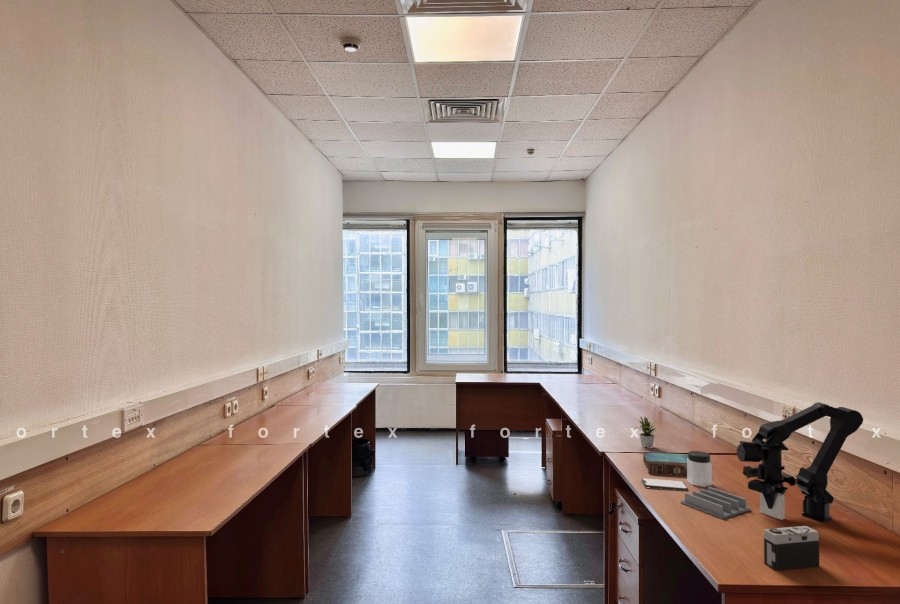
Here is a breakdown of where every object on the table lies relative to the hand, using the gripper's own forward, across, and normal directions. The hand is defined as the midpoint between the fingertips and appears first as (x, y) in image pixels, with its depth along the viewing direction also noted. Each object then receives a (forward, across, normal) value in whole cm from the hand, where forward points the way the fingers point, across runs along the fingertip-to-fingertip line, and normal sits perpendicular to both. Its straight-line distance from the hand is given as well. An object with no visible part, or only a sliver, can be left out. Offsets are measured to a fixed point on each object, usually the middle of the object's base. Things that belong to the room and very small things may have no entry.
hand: (772, 508), depth 171 cm
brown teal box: (+3, -13, -49) cm, 51 cm away
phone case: (+3, +8, -37) cm, 38 cm away
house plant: (+3, -32, -80) cm, 86 cm away
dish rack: (+2, +10, -14) cm, 17 cm away
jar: (+3, -7, -32) cm, 33 cm away
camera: (+3, +29, +20) cm, 35 cm away
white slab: (+2, 0, 0) cm, 2 cm away
